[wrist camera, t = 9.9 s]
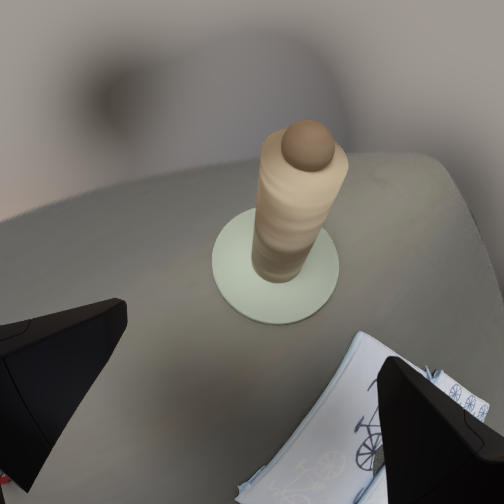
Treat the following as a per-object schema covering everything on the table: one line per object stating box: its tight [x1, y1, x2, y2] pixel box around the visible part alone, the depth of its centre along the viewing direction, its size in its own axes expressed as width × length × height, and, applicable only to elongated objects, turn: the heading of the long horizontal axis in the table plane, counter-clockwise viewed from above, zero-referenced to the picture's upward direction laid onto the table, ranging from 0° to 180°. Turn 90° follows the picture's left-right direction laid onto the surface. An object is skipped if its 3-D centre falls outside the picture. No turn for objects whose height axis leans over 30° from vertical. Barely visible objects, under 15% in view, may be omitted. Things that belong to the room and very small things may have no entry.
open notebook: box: [234, 331, 489, 504], centre depth 16 cm, size 19×20×2 cm
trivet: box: [212, 208, 339, 325], centre depth 24 cm, size 11×11×1 cm
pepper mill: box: [251, 120, 348, 283], centre depth 18 cm, size 4×4×14 cm
